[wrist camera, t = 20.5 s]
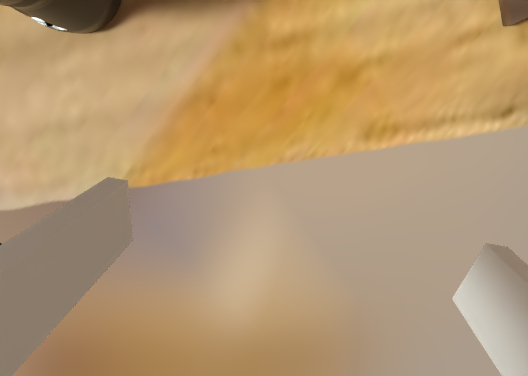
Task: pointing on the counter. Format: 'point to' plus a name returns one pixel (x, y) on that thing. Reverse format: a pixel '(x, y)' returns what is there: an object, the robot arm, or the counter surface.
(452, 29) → the counter surface
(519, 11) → the egg stand
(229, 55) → the counter surface
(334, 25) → the counter surface
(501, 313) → the robot arm
